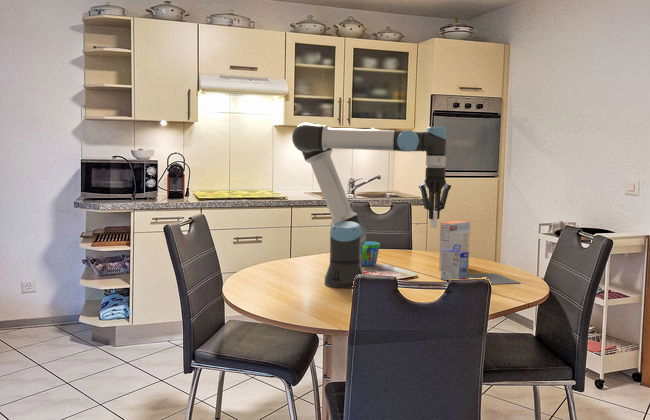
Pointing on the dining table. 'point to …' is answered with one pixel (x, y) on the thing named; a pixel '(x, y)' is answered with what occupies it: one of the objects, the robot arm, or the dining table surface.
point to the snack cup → (369, 253)
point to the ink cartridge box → (454, 263)
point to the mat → (494, 278)
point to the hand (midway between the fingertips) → (433, 227)
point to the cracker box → (454, 236)
